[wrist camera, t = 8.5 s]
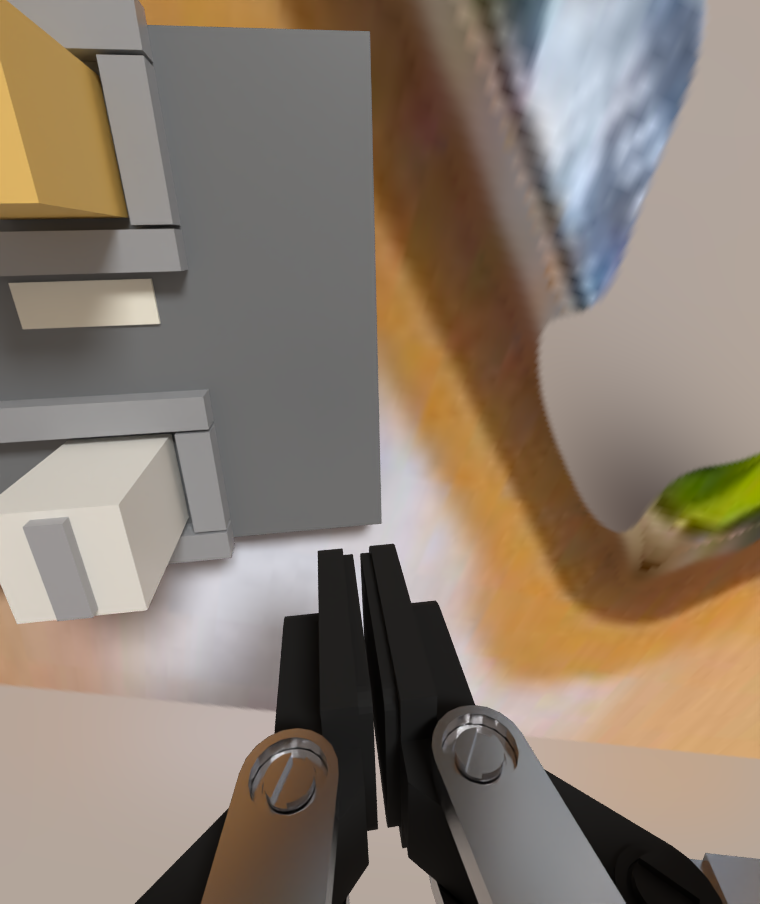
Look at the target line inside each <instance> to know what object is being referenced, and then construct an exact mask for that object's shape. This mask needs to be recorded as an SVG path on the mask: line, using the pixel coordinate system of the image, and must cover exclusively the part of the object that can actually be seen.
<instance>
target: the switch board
mask: <svg viewBox="0 0 760 904" xmlns="http://www.w3.org/2000/svg"><path fill="white" fill-rule="evenodd" d="M7 1H8V2H9V3H11V4H12V5H13V6H14V7H15V8H17V9H18V10H19V11H20V12H22V13H23V14H24V15H25V16H26V17H28V18H29V19H30V20H31V21H33V22H34V23H35V24H36V25H38V26H39V27H40V28H41V29H42V30H44V31H45V32H46V33H47V34H49V35H50V36H51V37H52V38H53V39H55V40H56V41H57V42H58V43H60V44H61V45H62V46H63V47H64V48H66V49H67V50H68V51H69V52H71V53H72V54H73V55H74V56H75V57H77V58H78V59H79V60H80V61H82V62H83V63H84V64H85V65H86V66H88V67H89V68H90V69H91V70H93V71H94V72H95V73H96V74H97V75H99V78H100V83H101V87H102V92H103V97H104V102H105V107H106V112H107V116H108V121H109V126H110V131H111V136H112V141H113V145H114V150H115V155H116V160H117V165H118V169H119V174H120V179H121V184H122V189H123V194H124V198H125V203H126V208H127V213H128V218H86V219H22V220H0V494H1V493H3V492H4V491H5V490H6V489H8V488H9V487H10V486H11V485H13V484H14V483H15V482H16V481H18V480H19V479H20V478H21V477H23V476H24V475H25V474H26V473H28V472H29V471H30V470H31V469H33V468H34V467H35V466H36V465H38V464H39V463H40V462H41V461H43V460H44V459H45V458H47V457H48V456H49V455H50V454H52V453H53V452H54V451H55V450H57V449H58V448H59V447H60V446H62V445H63V444H64V443H65V442H67V441H68V440H79V439H94V438H109V437H124V436H140V435H155V434H170V433H171V434H172V438H173V443H174V448H175V453H176V458H177V462H178V467H179V472H180V477H181V481H182V486H183V491H184V496H185V501H186V505H187V510H188V515H189V518H188V520H187V523H186V525H185V527H184V529H183V531H182V534H181V536H180V538H179V540H178V543H177V545H176V547H175V549H174V552H173V554H172V556H171V558H170V560H169V563H168V564H173V563H183V562H194V561H204V560H214V559H225V558H231V557H232V553H233V549H234V545H235V543H234V537H240V536H251V535H262V534H273V533H284V532H295V531H306V530H317V529H328V528H339V527H350V526H361V525H372V524H381V482H380V439H379V397H378V355H377V313H376V270H375V228H374V186H373V144H372V102H371V59H370V31H336V30H301V29H266V28H232V27H197V26H162V25H147V23H146V17H145V11H144V8H143V6H142V5H141V3H140V2H139V0H7Z"/></svg>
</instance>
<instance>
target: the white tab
mask: <svg viewBox="0 0 760 904" xmlns="http://www.w3.org/2000/svg"><path fill="white" fill-rule="evenodd" d="M188 518H189V515H188V510H187V505H186V501H185V496H184V491H183V486H182V481H181V477H180V472H179V467H178V462H177V458H176V453H175V448H174V443H173V438H172V434H171V433H170V434H155V435H140V436H124V437H109V438H94V439H79V440H68V441H67V442H65V443H64V444H63V445H62V446H60V447H59V448H58V449H57V450H55V451H54V452H53V453H52V454H50V455H49V456H48V457H47V458H45V459H44V460H43V461H41V462H40V463H39V464H38V465H36V466H35V467H34V468H33V469H31V470H30V471H29V472H28V473H26V474H25V475H24V476H23V477H21V478H20V479H19V480H18V481H16V482H15V483H14V484H13V485H11V486H10V487H9V488H8V489H6V490H5V491H4V492H3V493H1V494H0V584H1V586H2V589H3V591H4V594H5V596H6V598H7V601H8V603H9V606H10V608H11V610H12V613H13V615H14V618H15V620H16V622H17V624H22V623H31V622H41V621H50V620H57V621H65V620H74V619H83V618H93V617H94V616H97V615H107V614H116V613H126V612H135V611H144V610H148V607H149V605H150V603H151V601H152V598H153V596H154V594H155V592H156V590H157V587H158V585H159V583H160V581H161V578H162V576H163V574H164V572H165V569H166V567H167V565H168V563H169V560H170V558H171V556H172V554H173V552H174V549H175V547H176V545H177V543H178V540H179V538H180V536H181V534H182V531H183V529H184V527H185V525H186V523H187V520H188Z"/></svg>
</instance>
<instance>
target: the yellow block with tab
mask: <svg viewBox="0 0 760 904" xmlns="http://www.w3.org/2000/svg"><path fill="white" fill-rule="evenodd" d="M86 218H128V213H127V208H126V203H125V198H124V194H123V189H122V184H121V179H120V174H119V169H118V165H117V160H116V155H115V150H114V145H113V141H112V136H111V131H110V126H109V121H108V116H107V112H106V107H105V102H104V97H103V92H102V87H101V83H100V78H99V75H97V74H96V73H95V72H94V71H93V70H91V69H90V68H89V67H88V66H86V65H85V64H84V63H83V62H82V61H80V60H79V59H78V58H77V57H75V56H74V55H73V54H72V53H71V52H69V51H68V50H67V49H66V48H64V47H63V46H62V45H61V44H60V43H58V42H57V41H56V40H55V39H53V38H52V37H51V36H50V35H49V34H47V33H46V32H45V31H44V30H42V29H41V28H40V27H39V26H38V25H36V24H35V23H34V22H33V21H31V20H30V19H29V18H28V17H26V16H25V15H24V14H23V13H22V12H20V11H19V10H18V9H17V8H15V7H14V6H13V5H12V4H11V3H9V2H8V1H7V0H0V220H22V219H86Z"/></svg>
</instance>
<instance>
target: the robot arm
mask: <svg viewBox="0 0 760 904" xmlns="http://www.w3.org/2000/svg"><path fill="white" fill-rule="evenodd" d="M360 560H361V581H362V602H363V623H364V634H363V627H362V619H361V612H360V604H359V597H358V589H357V582H356V574H355V567H354V559H353V554H350V555H343V549H332V550H321V551H318V599H319V613H315V614H306V615H296V616H287V617H285V618H284V625H283V637H282V649H281V661H280V673H279V685H278V697H277V709H276V721H275V734H273V735H271V736H269V737H267V738H266V739H265V740H264V741H262V742H261V743H259V744H258V745H257V746H256V747H255V748H254V749H253V750H252V752H251V753H250V754H249V755H248V757H247V758H246V759H245V762H244V764H243V766H242V768H241V770H240V773H239V776H238V779H237V782H236V786H235V789H234V793H233V796H232V799H231V803H230V806H229V808H228V809H227V810H226V811H225V812H224V813H223V814H222V816H220V817H219V818H218V820H216V822H215V823H214V824H213V825H212V826H211V827H210V828H209V829H208V830H207V831H206V832H205V833H204V834H203V835H202V836H201V837H200V838H199V839H198V840H197V841H196V842H195V843H194V844H193V845H192V846H191V847H190V848H189V849H188V850H187V851H186V852H185V853H184V854H183V855H182V856H181V857H180V858H179V859H178V860H177V861H176V862H175V863H174V864H173V865H172V866H171V867H170V868H169V869H168V870H167V871H166V872H165V873H164V874H163V875H162V877H160V879H158V880H157V882H156V883H155V884H154V885H153V886H152V887H151V888H150V889H149V890H148V891H147V892H146V893H145V894H144V895H143V896H142V897H141V898H140V899H139V900H138V901H137V902H136V903H135V904H349V893H350V892H351V890H352V888H353V887H354V886H355V884H356V883H357V881H358V879H359V878H360V877H361V875H362V874H363V872H364V871H365V869H366V867H367V866H368V864H369V858H368V840H367V831H369V830H376V829H378V821H377V797H376V773H375V750H374V749H375V748H374V729H375V736H376V744H377V752H378V760H379V767H380V774H381V783H382V791H383V798H384V805H385V814H386V821H387V826H388V828H389V827H395V826H399V830H400V837H401V843H402V848H406V847H407V851H408V857H409V858H410V859H411V860H412V861H413V862H415V863H416V864H417V865H418V866H419V867H420V868H421V869H423V870H424V871H425V872H426V873H427V874H429V877H430V883H431V889H432V892H433V895H434V898H435V901H436V904H760V859H755V858H746V857H737V856H727V855H719V854H709V853H705V856H704V858H703V860H695V859H689V858H687V857H686V856H685V855H684V854H682V853H681V852H679V851H678V850H677V849H675V848H674V847H673V846H671V845H669V844H668V843H666V842H665V841H663V840H661V839H660V838H658V837H656V836H654V835H653V834H651V833H650V832H648V831H646V830H644V829H643V828H641V827H640V826H638V825H636V824H635V823H633V822H631V821H630V820H628V819H626V818H625V817H623V816H621V815H620V814H618V813H616V812H615V811H613V810H611V809H610V808H608V807H606V806H604V805H603V804H601V803H599V802H598V801H596V800H595V799H593V798H591V797H590V796H588V795H586V794H584V793H583V792H581V791H580V790H578V789H576V788H574V787H573V786H571V785H570V784H568V783H566V782H564V781H563V780H561V779H560V778H558V777H556V776H555V775H553V774H551V773H549V772H548V771H546V770H545V769H543V767H542V765H541V764H540V762H539V760H538V759H537V757H536V756H535V754H534V752H533V750H532V749H531V747H530V746H529V744H528V743H527V741H526V739H525V737H524V736H523V734H522V733H521V732H520V730H519V729H518V728H517V727H516V725H515V724H514V723H513V722H512V721H511V720H509V719H508V718H507V717H505V716H504V715H503V714H501V713H500V712H497V711H495V710H493V709H490V708H488V707H483V706H476V705H475V703H474V701H473V698H472V695H471V692H470V689H469V687H468V684H467V681H466V678H465V676H464V673H463V670H462V667H461V665H460V662H459V659H458V656H457V654H456V651H455V648H454V645H453V643H452V640H451V637H450V634H449V632H448V629H447V626H446V623H445V621H444V618H443V615H442V612H441V610H440V607H439V605H438V603H437V602H436V601H427V602H418V603H411V601H410V597H409V594H408V590H407V587H406V583H405V580H404V576H403V573H402V569H401V566H400V562H399V559H398V555H397V552H396V548H395V545H394V544H386V545H375V546H370V547H369V553H361V554H360ZM373 721H374V724H373Z"/></svg>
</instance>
